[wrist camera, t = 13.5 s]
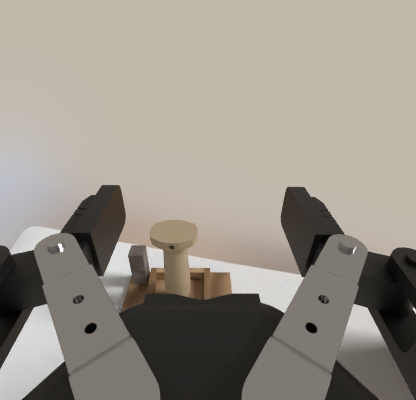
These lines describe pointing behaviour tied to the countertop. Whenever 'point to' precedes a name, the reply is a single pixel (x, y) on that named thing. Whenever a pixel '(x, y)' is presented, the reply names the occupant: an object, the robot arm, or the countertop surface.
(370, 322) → the countertop surface
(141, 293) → the seat board
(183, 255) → the handle
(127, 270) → the countertop surface
